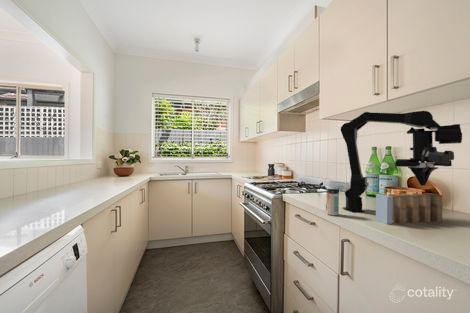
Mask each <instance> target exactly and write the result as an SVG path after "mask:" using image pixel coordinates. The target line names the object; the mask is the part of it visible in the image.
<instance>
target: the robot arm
mask: <svg viewBox="0 0 470 313" xmlns="http://www.w3.org/2000/svg"><path fill="white" fill-rule="evenodd" d="M368 123H382V124H383V123H386V124H387V123H388V124H401V125H405V126H410V129H408V130H407V131H406V134H407V135H410V134H412V147H409V151H412V157H410V158H397V159H396V160H395V162H394V164H395V165H394V166H395V167H400V168H401V167H403V168H407V169H410V171H411V172H412V174H414V176H415V179H417V181H418V183H419V185H420V186H424V187H425V186H426V184H427V183H428V180H429V178H430V176H431V174H432V172H434V171H435V170H437V169H439V167H452V166H453V164H452V161H454V160H455V152H454V151H453V150H443V151H438V150H437V149H438V148H437V147H436V146H433V133H434V142H438V144H439V145H447V144H448V145H449V144H453V145H454V144H462V140H463V132H462V129H461V124H460V123H455V124H451V125H440V124H439V123H438V122H437V121H436V120H434V118H433V114H432V113H431V112H430V111H428V110H419V111H411V112H405V113H403V112H401V113H398V112H396V113H394V112H393V113H392V112H369V111H364V112H363V113H361V114H360V115H358V116H357V117H355V118H353V119H352V120H350V121H349V122H345V123H343V124H342V125H341V127H340V133H341V135H342V137H343V140H344V142H345V144H346V145H345V146H346V150H347V156H348V161H349V162H348V163H349V169H350V182H349V188H348V189H347V190H346V191H345V192H344V194H345V207H344V206H343V207H342V209H344V210H345V211H349V212H351V213H360V212H362V213H363V212H365V209H363V197H361V196H362V195H363V194H364V193H365V192H367V190H368V187H369V186H370V185H369V183H368V176H364V175H363V172H362V166H361V160H360V156H359V149H358V145H357V144H358V142H357V139H358V131H359V130H360V129H362V128H363V127H364V126H365V125H367V124H368ZM415 127H416V128H415ZM425 129H428V130H425ZM436 166H437V167H436Z"/></svg>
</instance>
